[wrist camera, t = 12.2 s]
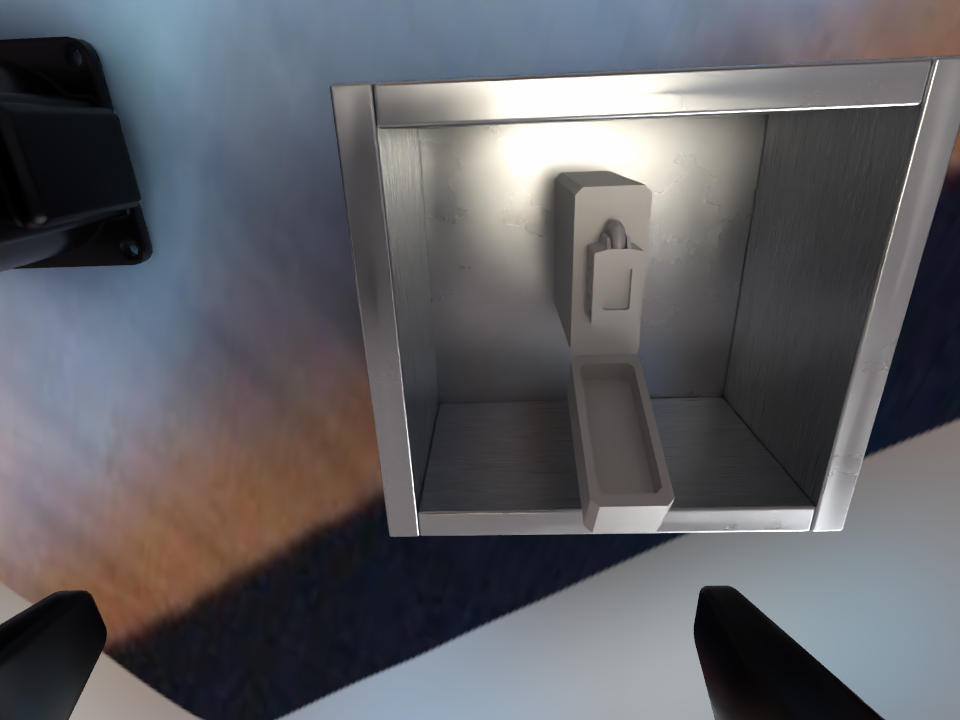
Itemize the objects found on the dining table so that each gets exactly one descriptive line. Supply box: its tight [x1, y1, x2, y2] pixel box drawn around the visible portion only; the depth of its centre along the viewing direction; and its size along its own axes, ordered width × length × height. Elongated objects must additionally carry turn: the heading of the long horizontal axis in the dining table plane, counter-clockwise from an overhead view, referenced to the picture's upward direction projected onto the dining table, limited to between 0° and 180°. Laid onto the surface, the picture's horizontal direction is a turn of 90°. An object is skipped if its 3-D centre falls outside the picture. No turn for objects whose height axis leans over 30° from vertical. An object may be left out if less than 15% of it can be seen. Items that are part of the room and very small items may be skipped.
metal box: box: [330, 55, 960, 537], centre depth 15 cm, size 12×11×7 cm
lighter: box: [553, 171, 675, 533], centre depth 14 cm, size 7×2×8 cm, turn 2°
